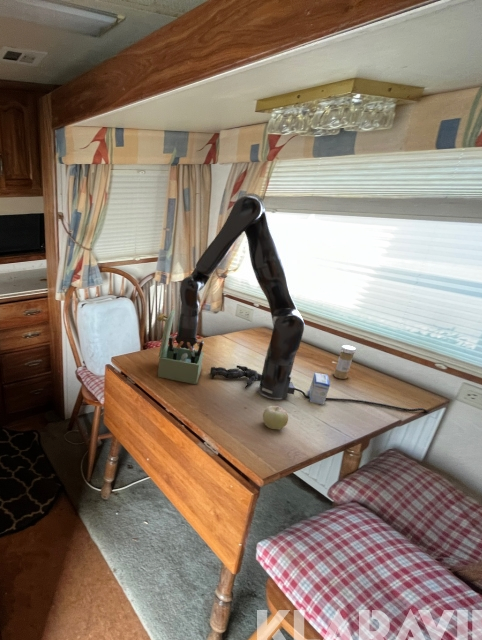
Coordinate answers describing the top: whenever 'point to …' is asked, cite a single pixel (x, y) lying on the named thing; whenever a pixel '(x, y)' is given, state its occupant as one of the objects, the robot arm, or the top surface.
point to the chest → (179, 366)
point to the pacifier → (185, 358)
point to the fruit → (275, 417)
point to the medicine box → (319, 388)
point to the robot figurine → (236, 374)
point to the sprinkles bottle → (344, 361)
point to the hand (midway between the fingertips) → (183, 361)
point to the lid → (166, 330)
